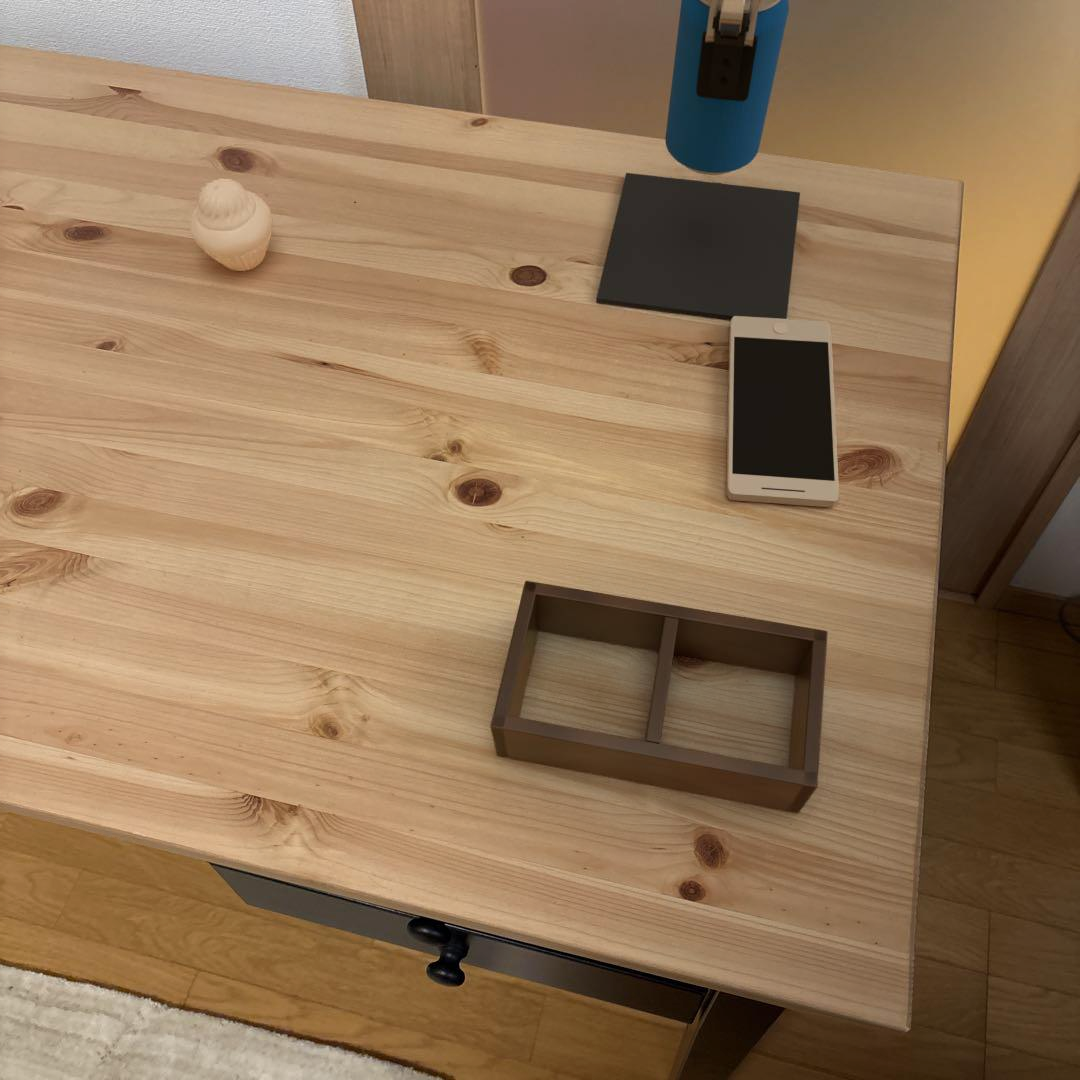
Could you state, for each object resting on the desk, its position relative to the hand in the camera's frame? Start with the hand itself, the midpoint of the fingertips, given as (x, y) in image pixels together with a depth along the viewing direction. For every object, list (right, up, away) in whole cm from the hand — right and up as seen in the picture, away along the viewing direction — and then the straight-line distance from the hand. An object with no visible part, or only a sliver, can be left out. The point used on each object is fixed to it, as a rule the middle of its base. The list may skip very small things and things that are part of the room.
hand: (728, 58), depth 64 cm
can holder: (-5, -41, -5) cm, 41 cm away
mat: (+1, -8, +14) cm, 16 cm away
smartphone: (+5, -22, +6) cm, 23 cm away
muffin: (-35, -9, +15) cm, 39 cm away
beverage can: (0, -4, +6) cm, 7 cm away
